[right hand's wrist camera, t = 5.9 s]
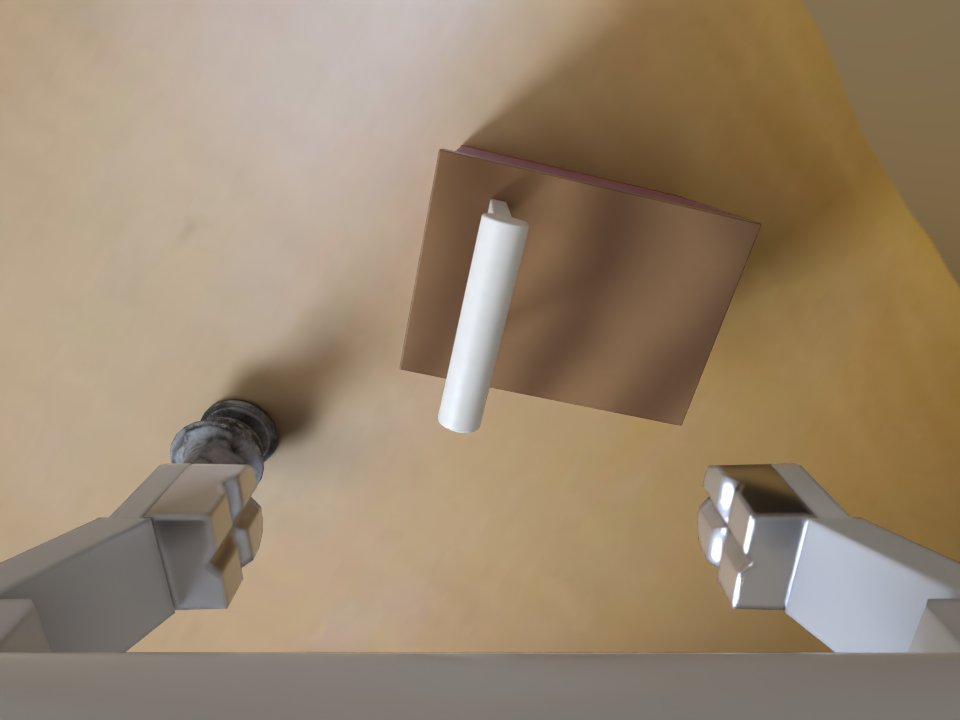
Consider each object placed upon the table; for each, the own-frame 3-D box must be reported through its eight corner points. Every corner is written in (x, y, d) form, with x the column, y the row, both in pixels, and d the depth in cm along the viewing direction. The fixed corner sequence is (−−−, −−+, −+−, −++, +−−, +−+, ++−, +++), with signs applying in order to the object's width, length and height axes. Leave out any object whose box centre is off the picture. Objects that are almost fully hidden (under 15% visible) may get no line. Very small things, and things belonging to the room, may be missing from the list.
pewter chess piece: (209, 382, 38) (98, 486, 27) (293, 417, 39) (218, 530, 28) (185, 450, 40) (73, 573, 29) (265, 482, 41) (186, 612, 30)
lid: (402, 360, 28) (371, 449, 20) (441, 147, 24) (422, 156, 16) (674, 416, 29) (744, 519, 21) (750, 220, 25) (869, 259, 17)
